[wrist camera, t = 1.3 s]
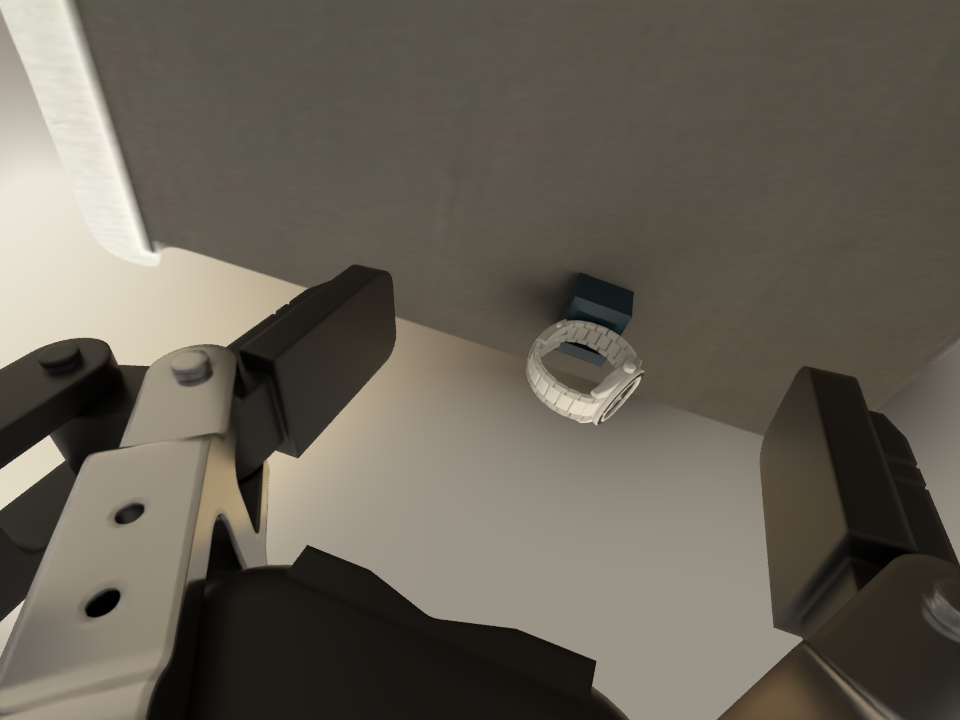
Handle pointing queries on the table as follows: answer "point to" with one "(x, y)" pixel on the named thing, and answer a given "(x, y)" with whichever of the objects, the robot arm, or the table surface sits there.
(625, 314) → the watch
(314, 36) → the table surface
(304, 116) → the table surface
